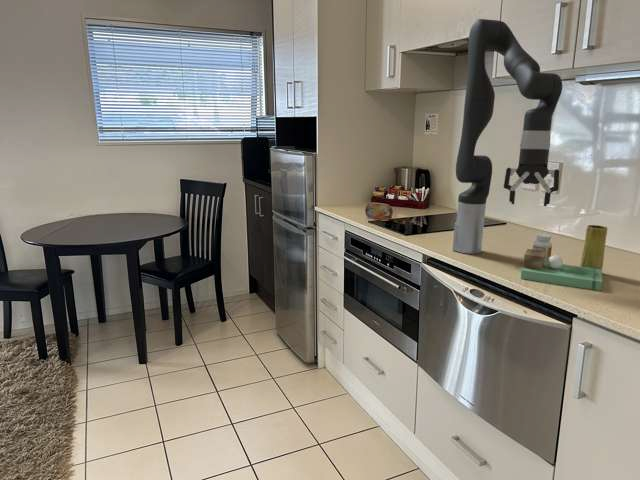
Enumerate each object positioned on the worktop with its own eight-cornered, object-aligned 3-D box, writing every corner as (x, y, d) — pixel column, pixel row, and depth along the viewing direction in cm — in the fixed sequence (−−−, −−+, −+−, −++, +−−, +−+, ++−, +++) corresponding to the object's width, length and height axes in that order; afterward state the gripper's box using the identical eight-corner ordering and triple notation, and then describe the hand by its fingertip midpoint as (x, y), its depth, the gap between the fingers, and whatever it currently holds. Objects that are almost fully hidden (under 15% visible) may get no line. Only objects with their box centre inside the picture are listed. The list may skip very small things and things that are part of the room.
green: (520, 278, 136) (521, 270, 135) (526, 267, 148) (527, 259, 147) (600, 290, 126) (602, 281, 126) (600, 277, 138) (601, 269, 137)
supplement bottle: (544, 263, 153) (547, 233, 151) (552, 267, 148) (556, 237, 145) (527, 262, 153) (531, 233, 150) (535, 267, 147) (539, 237, 145)
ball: (546, 269, 136) (547, 255, 136) (547, 266, 140) (548, 253, 139) (561, 271, 135) (563, 257, 134) (562, 268, 138) (564, 254, 137)
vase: (580, 274, 141) (587, 227, 138) (577, 269, 146) (584, 224, 143) (603, 276, 139) (611, 229, 136) (599, 271, 144) (607, 225, 141)
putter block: (522, 267, 138) (524, 254, 137) (526, 261, 144) (527, 248, 144) (541, 270, 135) (543, 256, 134) (544, 264, 142) (545, 251, 141)
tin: (364, 218, 226) (365, 201, 224) (369, 217, 228) (369, 200, 226) (389, 223, 215) (390, 205, 213) (393, 222, 217) (394, 204, 215)
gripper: (562, 148, 133) (555, 205, 136) (508, 147, 139) (503, 201, 142) (563, 148, 126) (556, 208, 129) (506, 147, 132) (501, 204, 135)
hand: (528, 204), depth 136 cm, fingers open, 8 cm apart
